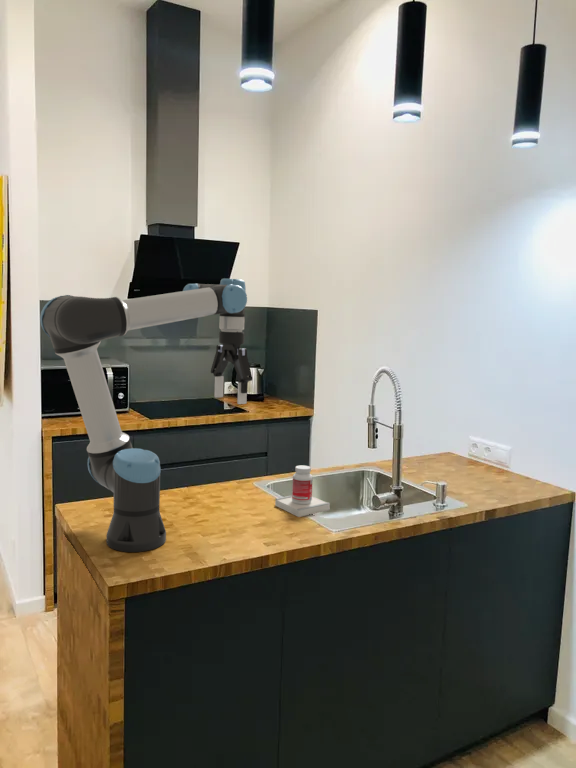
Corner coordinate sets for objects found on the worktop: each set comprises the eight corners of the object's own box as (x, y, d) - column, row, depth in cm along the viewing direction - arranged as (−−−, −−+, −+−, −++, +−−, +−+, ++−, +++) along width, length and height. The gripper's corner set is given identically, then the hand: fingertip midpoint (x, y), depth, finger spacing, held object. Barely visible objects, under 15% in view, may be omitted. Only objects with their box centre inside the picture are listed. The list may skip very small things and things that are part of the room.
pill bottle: (313, 504, 194) (314, 469, 193) (293, 505, 193) (294, 469, 192) (309, 498, 200) (311, 464, 199) (290, 498, 199) (291, 464, 198)
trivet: (298, 517, 189) (298, 509, 189) (275, 505, 198) (275, 498, 198) (329, 510, 196) (329, 503, 196) (305, 499, 206) (305, 492, 205)
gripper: (265, 333, 183) (263, 405, 186) (221, 328, 203) (219, 393, 206) (243, 333, 179) (241, 407, 182) (200, 328, 199) (199, 395, 202)
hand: (230, 400), depth 194 cm, fingers open, 13 cm apart
